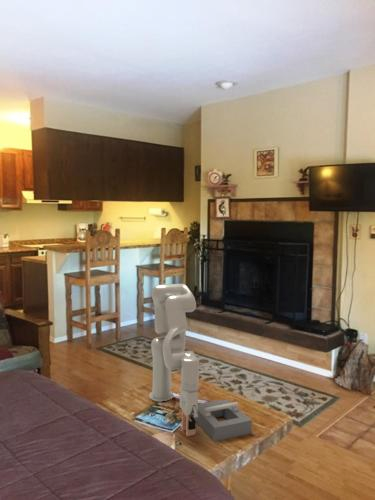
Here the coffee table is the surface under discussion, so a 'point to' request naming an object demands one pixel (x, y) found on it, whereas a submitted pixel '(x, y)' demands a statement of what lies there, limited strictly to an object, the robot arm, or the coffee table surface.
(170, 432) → the coffee table surface
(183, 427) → the clip
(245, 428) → the grey rectangular frame
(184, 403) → the robot arm
